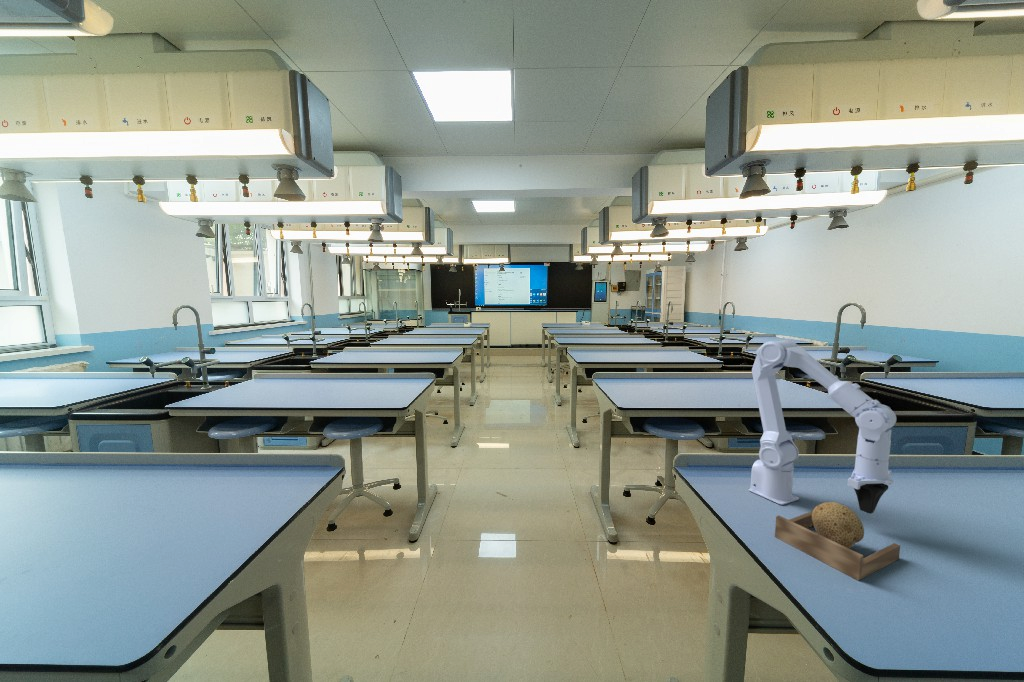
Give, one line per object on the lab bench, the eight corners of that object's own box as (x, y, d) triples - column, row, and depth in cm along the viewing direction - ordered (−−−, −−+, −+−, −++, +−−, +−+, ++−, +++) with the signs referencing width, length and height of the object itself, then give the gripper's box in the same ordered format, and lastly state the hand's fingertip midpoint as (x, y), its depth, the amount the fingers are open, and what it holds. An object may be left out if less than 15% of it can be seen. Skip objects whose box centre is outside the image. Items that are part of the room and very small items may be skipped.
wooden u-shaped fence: (774, 536, 91) (776, 516, 91) (815, 521, 98) (816, 502, 97) (858, 580, 77) (860, 556, 76) (898, 558, 83) (901, 536, 83)
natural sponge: (833, 533, 93) (837, 493, 92) (873, 557, 84) (878, 513, 83) (800, 536, 91) (803, 495, 90) (837, 561, 82) (841, 516, 81)
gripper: (877, 468, 86) (870, 526, 87) (910, 457, 91) (903, 512, 93) (839, 456, 92) (834, 511, 93) (872, 447, 98) (867, 499, 99)
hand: (866, 511), depth 94 cm, fingers closed
